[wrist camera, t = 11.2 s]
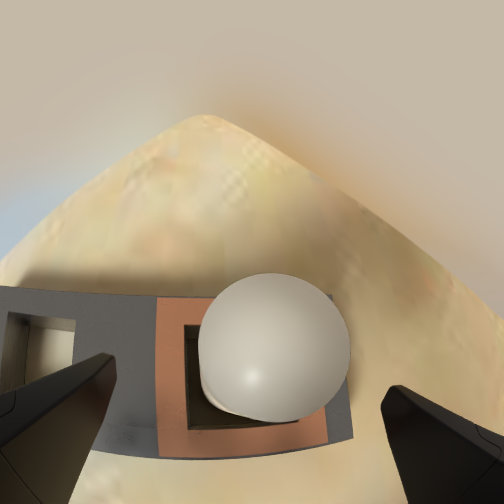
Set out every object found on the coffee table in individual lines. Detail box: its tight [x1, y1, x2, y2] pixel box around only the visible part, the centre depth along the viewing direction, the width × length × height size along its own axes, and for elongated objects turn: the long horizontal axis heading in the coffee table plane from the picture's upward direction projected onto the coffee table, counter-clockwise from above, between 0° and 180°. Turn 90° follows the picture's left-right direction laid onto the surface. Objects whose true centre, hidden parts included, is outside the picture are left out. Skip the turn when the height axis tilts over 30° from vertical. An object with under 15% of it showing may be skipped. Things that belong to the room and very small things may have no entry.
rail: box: [0, 286, 353, 460], centre depth 14 cm, size 9×24×3 cm, turn 95°
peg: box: [198, 273, 351, 422], centre depth 11 cm, size 4×4×11 cm
